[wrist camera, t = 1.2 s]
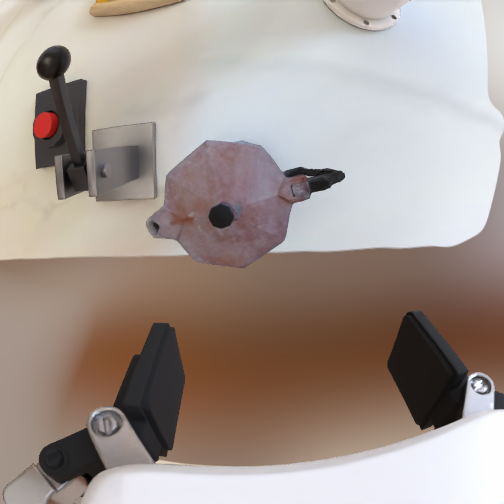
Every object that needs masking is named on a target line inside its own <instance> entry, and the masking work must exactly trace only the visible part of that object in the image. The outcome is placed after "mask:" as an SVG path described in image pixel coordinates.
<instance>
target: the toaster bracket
mask: <svg viewBox="0 0 504 504" xmlns="http://www.w3.org/2000/svg"><path fill="white" fill-rule="evenodd" d="M92 136H93V150H87V151H84V154H85V155H86V162H87V178H88V190H89V197H94V196H96V201H113V200H133V199H155V198H156V197H157V187H156V159H155V123H153V122H151V123H141V124H133V125H125V126H118V127H111V128H105V129H99V130H93V131H92ZM71 163H72V159H71V156H70V154H65V155H59V156H55V173H56V184H57V194H58V200H61V199H66V198H69V197H71V196H74V195H76V194H78V193H81V192H83V191H77V192H75V190H74V188H73V186H72V183H71V181H70V178H69V176H68V173H67V171H66V170H67V168H68V167H69V166H70V164H71Z"/></svg>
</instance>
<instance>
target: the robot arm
mask: <svg viewBox="0 0 504 504" xmlns="http://www.w3.org/2000/svg"><path fill="white" fill-rule="evenodd" d="M409 1H411V0H324V2H325V3H326V4H327V6H328V7H329V8H330V9H331V10H332V11H333V12H334V13H335V14H336V15H338V16H339V17H340V18H342V19H343V20H345V21H347V22H348V23H350V24H352V25H354V26H357V27H359V28H363V29H366V30H373V31H377V30H385V29H387V28H389V27H391V26H393V25H394V24H396V22H397V21H398V20H399V17H400V11H401V9H400V7H402V6H403V5H405V4H406V3H408V2H409ZM387 365H388V369H389V371H390V373H391V375H392V377H393V379H394V381H395V382H396V385H397V386H398V389H399V390H400V392H401V394H402V396H403V398H404V400H405V402H406V404H407V406H408V408H409V410H410V413H411V415H412V417H413V419H414V421H415V423H416V424H417V425H419V426H420V428H421V430H423V429H426V428H429V427H431V426H432V425H434V427H435V428H434V430H433V431H430V432H427V433H425V434H422V435H419V436H416V437H413V438H410V439H408V440H404V441H401V442H398V443H395V444H391V445H388V446H384V447H381V448H377V449H373V450H369V451H365V452H360V453H356V454H352V455H346V456H341V457H336V458H330V459H325V460H318V461H310V462H303V463H294V464H283V465H269V466H245V467H244V466H242V467H240V466H238V467H237V466H236V467H235V466H234V467H224V466H196V465H177V464H156V463H155V462H157V461H158V459H159V456H164V457H166V456H167V452H168V450H172V448H173V443H174V438H175V432H176V426H177V420H178V415H179V410H180V404H181V399H182V394H183V388H184V384H185V375H184V370H183V366H182V361H181V357H180V353H179V348H178V343H177V339H176V334H175V329H174V328H173V327H170V325H169V324H168V323H154V324H153V326H152V328H151V330H150V333H149V335H148V337H147V340H146V342H145V345H144V347H143V350H142V352H141V355H138V354H136V355H134V356H133V358H132V360H131V363H130V365H129V368H128V370H127V372H126V375H125V378H124V380H123V382H122V385H121V387H120V390H119V392H118V395H117V398H116V400H115V403H114V406H113V407H112V406H104V407H100V408H98V409H96V410H94V411H93V412H92V413H91V414H90V415H89V417H88V419H87V424H86V425H87V428H85V429H83V430H81V431H79V432H76V433H74V434H72V435H70V436H68V437H66V438H63V439H61V440H58V441H56V442H54V443H51V444H49V445H47V446H46V447H44V448H43V450H42V451H41V453H40V455H39V463H38V464H37V465H35V464H34V463H33V464H32V465H30V467H28V468H27V469H26V470H24V471H23V472H22V473H21V474H20V475H19V476H17V477H16V478H15V479H14V480H12V481H11V482H10V483H9V484H7V485H6V487H5V488H4V490H3V499H4V502H5V504H75V503H74V502H75V501H76V500H77V499H78V498H79V497H83V498H82V501H81V504H504V394H502V393H499V392H496V391H495V390H494V383H493V381H492V380H491V379H490V377H488V376H487V375H485V374H483V373H478V372H477V373H473V374H471V375H470V376H469V377H468V376H467V373H468V371H469V370H468V369H467V368H466V366H465V365H464V364H463V362H462V361H461V360H460V358H459V357H458V356H457V354H456V353H455V352H454V351H453V349H452V348H451V347H450V345H449V344H448V343H447V342H446V340H445V339H444V338H443V337H442V335H441V334H440V333H439V332H438V330H437V329H436V328H435V327H434V326H433V325H432V323H431V322H430V321H429V320H428V319H427V317H426V316H425V315H424V314H423V313H422V312H421V311H419V310H418V311H412V312H408V313H407V314H406V316H404V317H403V321H402V323H401V326H400V329H399V332H398V335H397V338H396V341H395V343H394V346H393V349H392V352H391V355H390V357H389V360H388V364H387Z"/></svg>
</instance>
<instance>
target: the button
mask: <svg viewBox="0 0 504 504" xmlns="http://www.w3.org/2000/svg"><path fill="white" fill-rule="evenodd" d="M58 124H59V120H58V117H57V115H56V114H55V113H52V112H43V113H41V114H40V115H39V116H38V117H37V118H36V120H35V123H34V133H35V135H36V136H37V137H38V138H48V137H51V136H53V135H54V134H55V132H56V131H57V129H58Z"/></svg>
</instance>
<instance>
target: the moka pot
mask: <svg viewBox="0 0 504 504" xmlns="http://www.w3.org/2000/svg"><path fill="white" fill-rule="evenodd" d="M305 175H306V176H314V177H310V178H307V177H306V176H305ZM344 178H345V174H344V173H343V172H342V171H337V170H333V169H328V168H326V169H322V170H321V169H314V170H313V169H306V168H303V167H298V168H294V169H290V170H286V171H285V172H282V171H281V170H280V169H279V167H278V166H277V165H276V163H275V162H274V161H273V159H272V158H271V157H270V156H269V154H268V153H267V152H266V151H265V150H264V148H262V147H261V146H260V145H254V144H251V143H248V142H244V141H239V142H235V143H233V142H223V141H208V140H207V141H205V142H204V143H203V144H202V145H200V146H199V147H198V148H197V149H196V150H194V151H193V152H192V153H191V154H190V155H189V156H187V157H186V158H185V159H184V160H183V161H182V162H180V163H179V164H178V165H177V166H176V167H175V168H173V169H172V170H171V171H170V172H169V173H168V174H167V175H166V184H165V200H164V206H163V207H162V208H160V209H159V210H158V211H157V212H155V213H154V214H153V215H152V216H151V217H150V218H149V219H148V220H147V222H146V226H147V229H148V231H149V233H150V234H151V235H152V236H153V237H154V238H166V239H174V240H177V241H178V242H179V243H180V244H181V246H182V247H183V248H184V249H185V250H186V252H187V253H188V254H189V255H190V256H191V257H192V258H193V259H194V260H195V261H197V262H200V263H206V264H213V265H222V266H230V267H237V268H245V267H246V266H248V265H250V264H251V263H252V262H254V261H256V260H257V259H259V258H260V257H261V256H263V255H264V254H266V253H267V252H269V251H270V250H272V249H273V248H275V247H276V246H278V245H279V244H281V243H282V242H283V241H284V240H285V237H286V234H287V227H288V222H289V215H290V211H291V207H292V205H293V203H296V202H300V201H304V200H307V199H309V198H310V195H311V193H313V192H317V191H322V190H326V189H328V188H330V187H331V186H332V185H333V184H335V183H338V182H341V181H342V180H343V179H344Z"/></svg>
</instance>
